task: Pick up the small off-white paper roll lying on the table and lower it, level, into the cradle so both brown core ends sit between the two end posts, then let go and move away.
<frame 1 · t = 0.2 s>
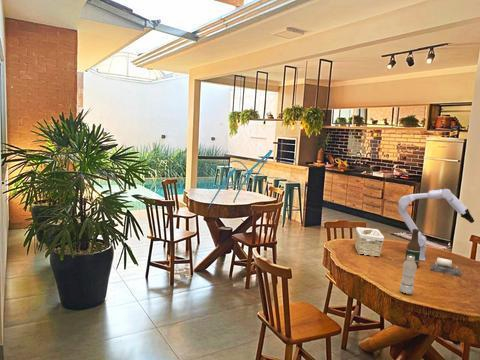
hand: (472, 221, 231), 31 cm above the table, tool tilted 45°, fingers open, 7 cm apart
plastic bottle: (406, 293, 187), on the table
roll cradle: (445, 271, 226), on the table
paper roll: (443, 266, 235), on the table
beer bottle: (411, 266, 231), on the table
storage basket: (367, 252, 256), on the table
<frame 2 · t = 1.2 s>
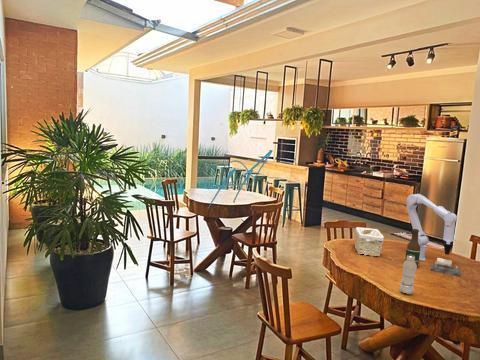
hand: (446, 253, 234), 9 cm above the table, tool pointing down, fingers open, 7 cm apart
paper roll: (443, 266, 235), on the table, tilted 8°
everything else where it was.
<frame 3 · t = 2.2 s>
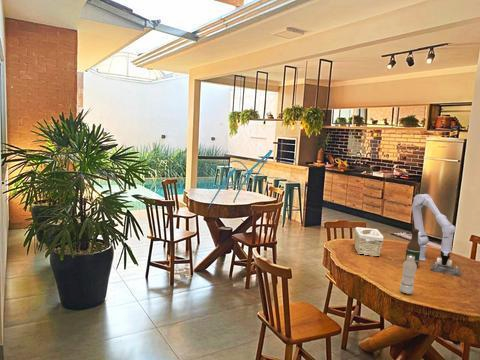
hand: (443, 263, 235), 2 cm above the table, tool pointing down, fingers closed on paper roll, 5 cm apart
paper roll: (443, 266, 235), on the table, touching gripper
everything else where it was.
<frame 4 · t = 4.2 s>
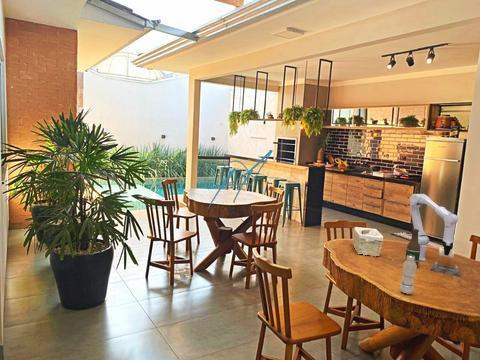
hand: (446, 254, 231), 9 cm above the table, tool pointing down, fingers closed on paper roll, 5 cm apart
paper roll: (445, 256, 231), point 7 cm above the table, touching gripper
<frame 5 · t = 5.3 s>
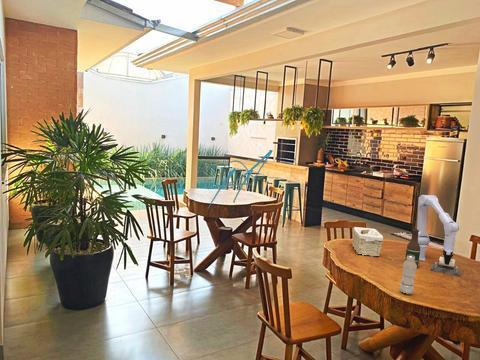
hand: (446, 263, 225), 5 cm above the table, tool pointing down, fingers closed on paper roll, 5 cm apart
paper roll: (446, 265, 225), point 3 cm above the table, touching gripper
when the fingers open (4 cm above the table, at t = 6.0 s): paper roll drops 1 cm, resting on roll cradle.
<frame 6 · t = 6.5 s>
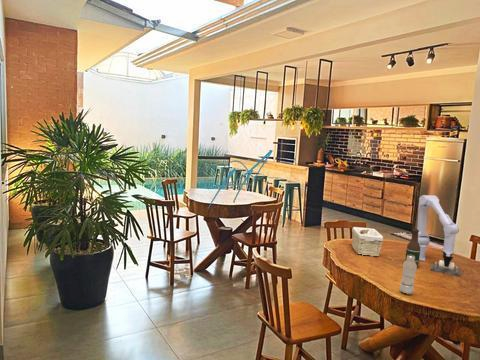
hand: (446, 264, 225), 4 cm above the table, tool pointing down, fingers open, 7 cm apart
paper roll: (445, 269, 226), point 1 cm above the table, touching roll cradle
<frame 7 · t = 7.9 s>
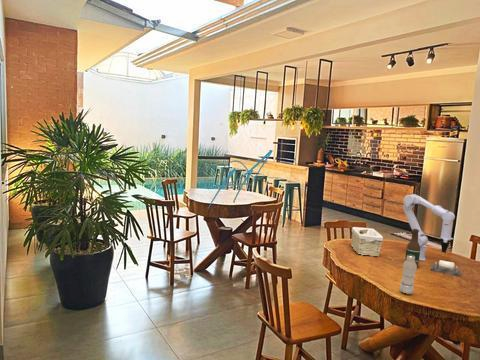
hand: (443, 250, 237), 9 cm above the table, tool pointing down, fingers open, 7 cm apart
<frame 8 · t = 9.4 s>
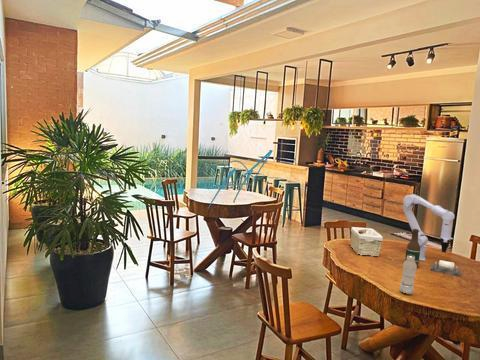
hand: (443, 250, 237), 9 cm above the table, tool pointing down, fingers open, 7 cm apart
at the end: paper roll 0.1 cm off-centre on the roll cradle, point 1.2 cm above the roll cradle's base; the gripper is holding nothing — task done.
